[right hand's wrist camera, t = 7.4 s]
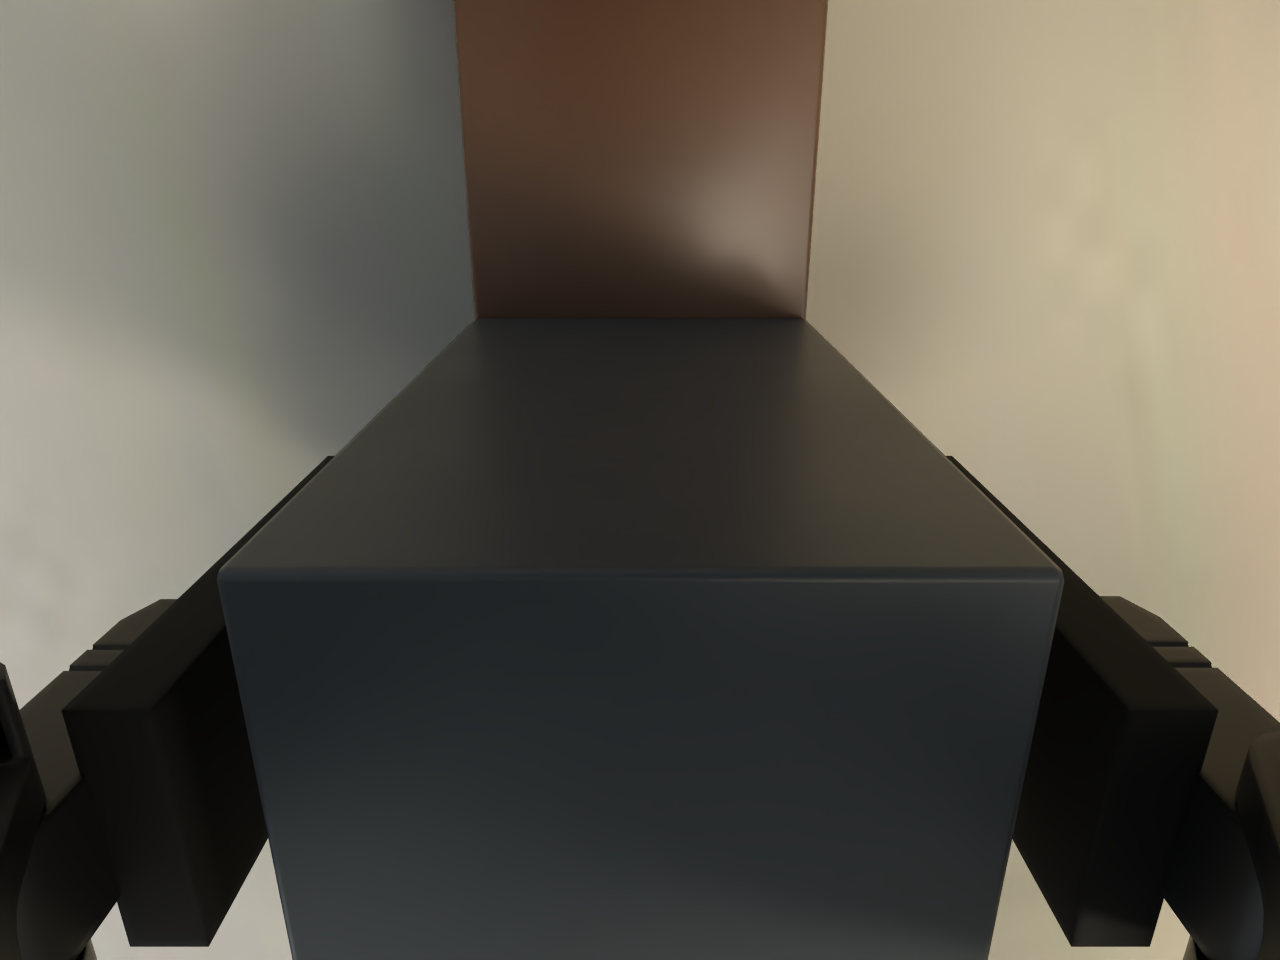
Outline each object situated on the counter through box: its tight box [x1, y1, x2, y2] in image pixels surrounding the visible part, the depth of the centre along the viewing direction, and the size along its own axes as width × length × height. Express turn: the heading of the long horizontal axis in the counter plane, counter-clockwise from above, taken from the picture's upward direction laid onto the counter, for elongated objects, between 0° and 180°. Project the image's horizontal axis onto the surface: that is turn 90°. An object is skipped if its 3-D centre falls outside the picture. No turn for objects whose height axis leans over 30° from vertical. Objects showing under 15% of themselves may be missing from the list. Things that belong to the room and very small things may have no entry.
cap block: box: [217, 318, 1064, 960], centre depth 12 cm, size 6×6×10 cm
